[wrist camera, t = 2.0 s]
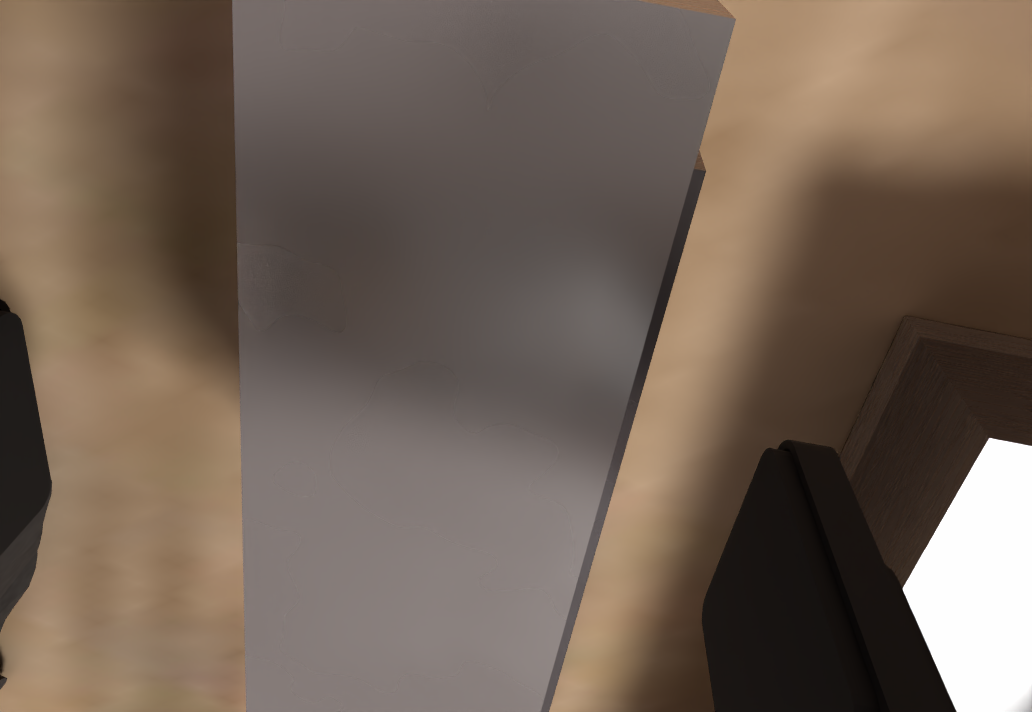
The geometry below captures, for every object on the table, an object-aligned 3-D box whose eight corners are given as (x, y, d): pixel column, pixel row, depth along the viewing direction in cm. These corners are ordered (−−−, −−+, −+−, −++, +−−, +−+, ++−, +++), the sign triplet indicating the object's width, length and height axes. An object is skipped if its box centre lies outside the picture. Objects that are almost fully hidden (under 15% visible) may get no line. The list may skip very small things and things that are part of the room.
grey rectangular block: (695, -39, 12) (773, 25, 6) (552, 536, 18) (521, 851, 12) (420, -91, 12) (231, -77, 6) (368, 499, 18) (248, 795, 12)
